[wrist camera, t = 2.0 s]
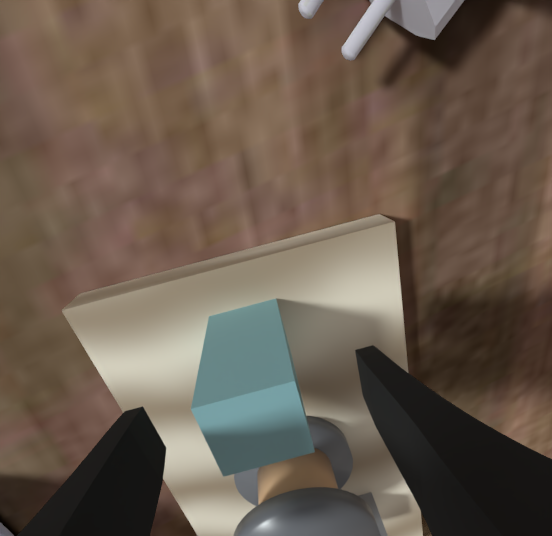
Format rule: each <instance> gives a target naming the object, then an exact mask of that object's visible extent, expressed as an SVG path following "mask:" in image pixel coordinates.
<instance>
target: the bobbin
mask: <svg viewBox="0 0 552 536" xmlns="http://www.w3.org/2000/svg"><path fill="white" fill-rule="evenodd" d="M306 417H307V421H308V425H309V429H310V433H311V437H312V442H313V446H314V450H315V452H313V453H310V454H306V455H302V456H299V457H295V458H291V459H288V460H284V461H280V462H277V463H273V464H269V465H266V466H262V467H258V468H255V469H251V470H247V471H243V472H240V473H236V474H234V480H235V485H236V488H237V490H238V492H239V493H240V494H241V496H242V497H243V498H244V499H246V500H247V501H248V502H250V503H251V504H253V505H255V506H256V507H255V508H253V509H252V510H251V511H250V512H248V513H247V514H246V515H245V516H244V517H243V519H242V520H241V521H240V523H239V524H238V525H237V528H236V530H235V532H234V536H381V535H380V532H379V529H378V526H377V523H376V520H375V518H374V515H373V512H372V510H371V508H370V506H369V505H368V504H367V503H366V502H365V501H364V500H363V499H362V498H360V497H359V496H357V495H355V494H353V493H351V492H348V491H345V490H341V488H342V487H343V486H344V485H345V483H346V482H347V480H348V479H349V477H350V475H351V472H352V468H353V457H352V454H351V451H350V448H349V445H348V442H347V440H346V437H345V436H344V434H343V433H342V431H341V430H340V429H339V428H338V427H337V426H336V425H334V424H332V423H331V422H329V421H327V420H325V419H321V418H318V417H313V416H306Z"/></svg>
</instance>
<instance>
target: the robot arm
mask: <svg viewBox="0 0 552 536" xmlns="http://www.w3.org/2000/svg"><path fill="white" fill-rule="evenodd" d="M355 354H356V359H357V365H358V371H359V377H360V383H361V389H362V394H363V398H364V400H365V402H366V405H367V407H368V410H369V412H370V415H371V417H372V419H373V422H374V424H375V426H376V428H377V430H378V432H379V434H380V436H381V438H382V439H383V441H384V443H385V445H386V447H387V449H388V450H389V452H390V454H391V456H392V458H393V460H394V462H395V463H396V465H397V467H398V469H399V471H400V473H401V474H402V476H403V478H404V480H405V482H406V484H407V485H408V487H409V489H410V491H411V493H412V495H413V496H414V498H415V500H416V502H417V504H418V506H419V508H420V510H421V512H422V514H423V516H424V518H425V520H426V523H427V525H428V527H429V529H430V532H431V534H432V536H552V459H550V458H548V457H546V456H544V455H542V454H540V453H538V452H536V451H534V450H532V449H529V448H527V447H526V446H524V445H522V444H520V443H518V442H516V441H514V440H513V439H511V438H509V437H507V436H505V435H503V434H501V433H500V432H498V431H496V430H494V429H493V428H491V427H489V426H487V425H486V424H484V423H482V422H480V421H479V420H477V419H475V418H474V417H472V416H470V415H469V414H467V413H466V412H464V411H462V410H461V409H459V408H458V407H456V406H455V405H453V404H452V403H450V402H449V401H447V400H446V399H444V398H442V397H441V396H440V395H438V394H437V393H435V392H434V391H432V390H431V389H429V388H428V387H427V386H425V385H424V384H423V383H421V382H420V381H418V380H417V379H416V378H414V377H413V376H412V375H410V374H409V373H408V372H406V371H405V370H404V369H402V368H401V367H400V366H399V365H397V364H396V363H395V362H394V361H392V360H391V359H390V358H389V357H387V356H386V355H385V354H384V353H383V352H381V351H380V350H379V349H378V348H377V347H375V346H373V345H372V346H368V347H364V348H361V349H357V350H355ZM165 457H166V446H165V445H164V443H163V441H162V439H161V437H160V436H159V434H158V432H157V430H156V429H155V427H154V425H153V423H152V422H151V420H150V418H149V416H148V414H147V413H146V411H145V409H144V407H143V406H142V407H139V408H135V409H131V410H127V411H125V412H124V413H123V414H122V415H121V416H120V417H119V418H118V419H117V421H116V422H115V423H114V424H113V425H112V427H111V428H110V429H109V430H108V431H107V432H106V434H105V435H104V436H103V437H102V439H101V440H100V441H99V442H98V443H97V445H96V446H95V447H94V448H93V449H92V451H91V452H90V453H89V454H88V455H87V457H86V458H85V459H84V460H83V461H82V463H81V464H80V465H79V466H78V467H77V469H76V470H75V471H74V472H73V473H72V475H71V476H70V477H69V478H68V479H67V481H66V482H65V483H64V484H63V485H62V486H61V487H60V488H59V490H58V491H57V492H56V493H55V494H54V495H53V496H52V498H51V499H50V500H49V501H48V502H47V503H46V504H45V505H44V507H43V508H42V509H41V510H40V511H39V512H38V513H37V515H36V516H35V517H34V518H33V519H32V520H31V521H30V522H29V523H28V524H27V526H26V527H25V528H24V529H23V530H22V531H21V532H20V533H19V534H18V535H17V536H150V532H151V528H152V524H153V520H154V516H155V512H156V507H157V503H158V499H159V495H160V490H161V486H162V481H163V473H164V466H165ZM0 536H14V535H13V534H12V533H11V532H10V531H9V530H8V529H7V528H6V527H5V526H4V525H3V524H2V523H1V522H0Z"/></svg>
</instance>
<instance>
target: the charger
mask: <svg viewBox="0 0 552 536" xmlns="http://www.w3.org/2000/svg"><path fill="white" fill-rule="evenodd" d="M369 1H370V2H371V3H372V4H371V5H370V7H369V8H368V10H367V11H366V13H365V14H364V15H363V17H362V18H361V20H360V21H359V23H358V24H357V26H356V27H355V29H354V30H353V32H352V33H351V35H350V36H349V38H348V39H347V41H346V42H345V44H344V45H343V47H342V54H343V56H344V58H345V59H347V60H355V58H356V57H357V55H358V54H359V52H360V51H361V49H362V48H363V47H364V45H365V44H366V42H367V41H368V39H369V38H370V36H371V35H372V34H373V32H374V31H375V29H376V28H377V26H378V25H379V23H380V22H381V21H382V19H383V18H384V16H386V17H387V18H389V19H390V20H392V21H394V22H395V23H397V24H399V25H400V26H402V27H403V28H405V29H407V30H408V31H410V32H411V33H413V34H415V35H416V36H420V37H424V38H428V39H432V40H435V39H436V38H437V36H438V35H439V34H440V32H441V31H442V30H443V28H444V27H445V26H446V24H447V23H448V22H449V20H450V19H451V18H452V16H453V15H454V14H455V12H456V11H457V10H458V8H459V7H460V6H461V4H462V3H463V2H464V0H369ZM322 2H323V0H301V1H300V3H299V11H300V13H301V15H302V16H303V17H304V18H307V19H311V18H313V16H314V15H315V13H316V11H317V10H318V8H319V7H320V5H321V4H322Z"/></svg>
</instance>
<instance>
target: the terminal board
mask: <svg viewBox="0 0 552 536" xmlns="http://www.w3.org/2000/svg"><path fill="white" fill-rule="evenodd" d="M272 299H276V300H277V303H278V307H279V311H280V314H281V318H282V321H283V325H284V329H285V332H286V336H287V340H288V343H289V347H290V351H291V354H292V358H293V363H294V367H295V371H296V375H297V379H298V383H299V388H300V392H301V396H302V400H303V404H304V408H305V412H306V416H313V417H318V418H321V419H325V420H327V421H329V422H331V423H332V424H334V425H336V426H337V427H338V428H339V429H340V430H341V431H342V433H343V434H344V436H345V437H346V440H347V442H348V445H349V448H350V451H351V454H352V457H353V468H352V472H351V475H350V477H349V479H348V480H347V482H346V483H345V485H344V486H343V487H342V488H341V490H345V491H348V492H351V493H353V494H355V495H357V496H359V495H362V494H366V493H370V492H371V493H372V495H373V498H374V500H375V503H376V506H377V508H378V511H379V514H380V516H381V519H382V522H383V524H384V527H385V530H386V532H387V535H388V536H423V531H422V519H421V510H420V508H419V506H418V504H417V502H416V500H415V498H414V496H413V495H412V493H411V491H410V489H409V487H408V485H407V484H406V482H405V480H404V478H403V476H402V474H401V473H400V471H399V469H398V467H397V465H396V463H395V462H394V460H393V458H392V456H391V454H390V452H389V450H388V449H387V447H386V445H385V443H384V441H383V439H382V438H381V436H380V434H379V432H378V430H377V428H376V426H375V424H374V422H373V419H372V417H371V415H370V412H369V410H368V407H367V405H366V402H365V400H364V398H363V394H362V389H361V383H360V377H359V371H358V365H357V359H356V354H355V350H357V349H361V348H364V347H368V346H372V345H373V346H375V347H377V348H378V349H379V350H380V351H381V352H383V353H384V354H385V355H386V356H387V357H389V358H390V359H391V360H392V361H394V362H395V363H396V364H397V365H399V366H400V367H401V368H402V369H404V370H405V371H406V372H408V363H407V352H406V340H405V329H404V318H403V307H402V296H401V285H400V273H399V262H398V251H397V240H396V229H395V221H393V220H391V219H389V218H386V217H384V216H382V215H380V214H378V215H374V216H370V217H367V218H363V219H359V220H355V221H352V222H348V223H344V224H340V225H337V226H333V227H329V228H325V229H322V230H318V231H314V232H310V233H307V234H303V235H299V236H295V237H292V238H288V239H284V240H280V241H277V242H273V243H269V244H265V245H261V246H258V247H254V248H250V249H246V250H243V251H239V252H235V253H231V254H228V255H224V256H220V257H216V258H213V259H209V260H205V261H201V262H198V263H194V264H190V265H186V266H183V267H179V268H175V269H171V270H168V271H164V272H160V273H156V274H153V275H149V276H145V277H141V278H138V279H134V280H130V281H126V282H123V283H119V284H115V285H111V286H107V287H104V288H100V289H96V290H92V291H89V292H85V293H81V294H79V295H78V296H77V297H76V298H75V299H74V300H73V301H71V302H70V303H69V304H68V305H67V306H66V307H65V308H64V309H63V310H62V312H63V314H64V315H65V317H66V319H67V320H68V322H69V324H70V325H71V327H72V329H73V330H74V332H75V334H76V335H77V337H78V338H79V340H80V342H81V343H82V345H83V347H84V348H85V350H86V352H87V353H88V355H89V357H90V358H91V360H92V362H93V363H94V365H95V367H96V368H97V370H98V372H99V373H100V375H101V377H102V378H103V380H104V381H105V383H106V385H107V386H108V388H109V390H110V391H111V393H112V395H113V396H114V398H115V400H116V401H117V403H118V405H119V406H120V408H121V410H122V411H123V413H124V412H125V411H127V410H131V409H135V408H139V407H142V406H143V407H144V409H145V411H146V413H147V414H148V416H149V418H150V420H151V422H152V423H153V425H154V427H155V429H156V430H157V432H158V434H159V436H160V437H161V439H162V441H163V443H164V445H165V446H166V457H165V466H164V473H163V479H164V481H165V482H166V484H167V486H168V487H169V489H170V491H171V492H172V494H173V496H174V497H175V499H176V501H177V502H178V504H179V506H180V507H181V509H182V511H183V512H184V514H185V516H186V517H187V519H188V521H189V522H190V524H191V525H192V527H193V529H194V530H195V532H196V534H197V535H198V536H234V532H235V530H236V528H237V525H238V524H239V523H240V521H241V520H242V519H243V517H244V516H245V515H246V514H247V513H248V512H250V511H251V510H252V509H253V508H255V507H256V506H255V505H253V504H251V503H250V502H248V501H247V500H246V499H244V498H243V497H242V496H241V494H240V493H239V492H238V490H237V488H236V485H235V480H234V474H232V475H229V476H225V477H223V475H222V473H221V471H220V469H219V467H218V465H217V463H216V461H215V458H214V456H213V454H212V452H211V450H210V448H209V446H208V444H207V442H206V440H205V438H204V436H203V434H202V431H201V429H200V427H199V425H198V423H197V421H196V419H195V417H194V415H193V413H192V411H191V405H192V400H193V395H194V390H195V385H196V380H197V375H198V369H199V364H200V359H201V354H202V349H203V344H204V339H205V334H206V329H207V324H208V318H209V316H212V315H216V314H220V313H223V312H227V311H231V310H234V309H238V308H242V307H246V306H249V305H253V304H257V303H261V302H264V301H268V300H272Z"/></svg>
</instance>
